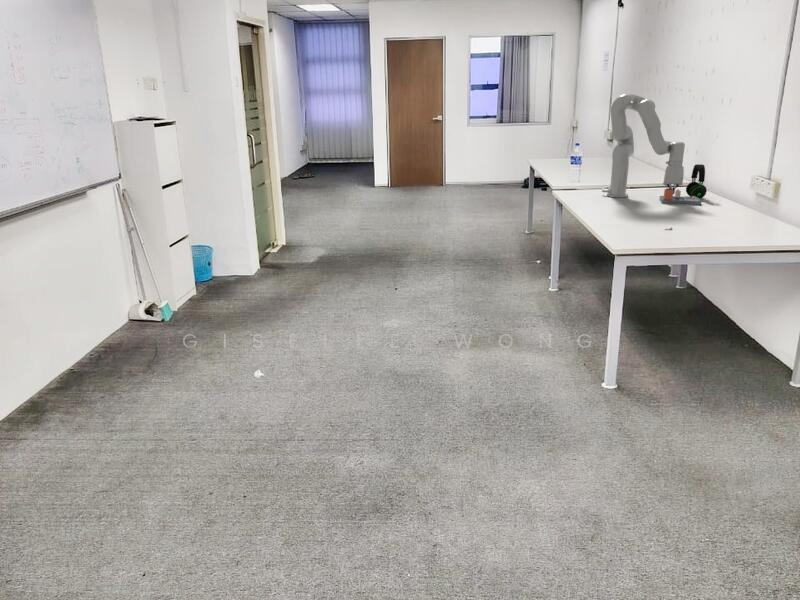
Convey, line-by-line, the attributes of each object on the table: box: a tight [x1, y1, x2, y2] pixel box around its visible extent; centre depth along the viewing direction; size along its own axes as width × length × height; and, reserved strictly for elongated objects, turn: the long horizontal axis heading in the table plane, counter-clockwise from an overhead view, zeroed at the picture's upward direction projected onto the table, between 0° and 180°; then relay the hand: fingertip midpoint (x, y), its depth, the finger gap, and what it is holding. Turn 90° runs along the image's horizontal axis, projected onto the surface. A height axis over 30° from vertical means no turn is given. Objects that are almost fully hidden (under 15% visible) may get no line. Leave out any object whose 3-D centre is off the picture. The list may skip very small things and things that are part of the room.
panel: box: [659, 195, 702, 206], centre depth 371 cm, size 21×15×3 cm
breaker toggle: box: [674, 188, 682, 198], centre depth 374 cm, size 2×4×4 cm, turn 163°
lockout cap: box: [663, 187, 674, 200], centre depth 369 cm, size 4×4×6 cm
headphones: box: [685, 163, 708, 199], centre depth 381 cm, size 9×16×20 cm, turn 173°
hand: (671, 195), depth 375 cm, fingers closed
